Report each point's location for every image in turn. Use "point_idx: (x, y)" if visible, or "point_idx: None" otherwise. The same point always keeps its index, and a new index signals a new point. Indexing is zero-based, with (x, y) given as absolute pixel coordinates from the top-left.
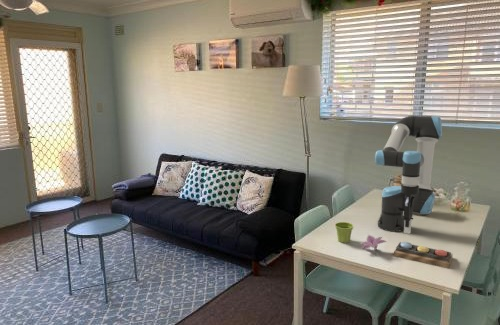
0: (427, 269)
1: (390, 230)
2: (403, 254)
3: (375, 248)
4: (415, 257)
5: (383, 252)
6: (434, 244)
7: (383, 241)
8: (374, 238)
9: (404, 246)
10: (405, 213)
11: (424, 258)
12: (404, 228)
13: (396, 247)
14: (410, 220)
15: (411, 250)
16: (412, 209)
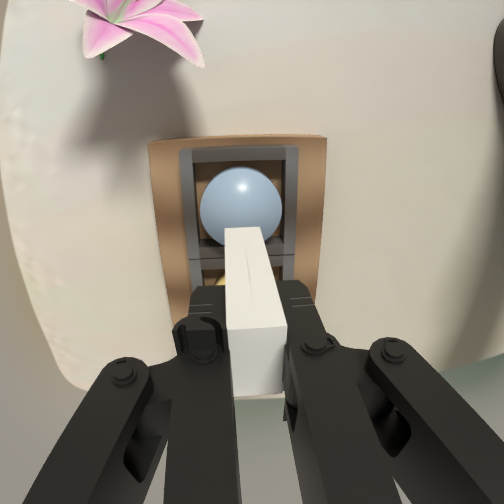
0: (117, 318)
1: (497, 69)
2: (154, 204)
3: (195, 14)
4: (163, 268)
5: (171, 72)
6: (419, 286)
7: (185, 49)
8: (86, 6)
9: (200, 207)
10: (54, 493)
11: (172, 310)
12: (225, 255)
13: (180, 153)
14: (243, 393)
15: (190, 250)
16: (409, 495)
